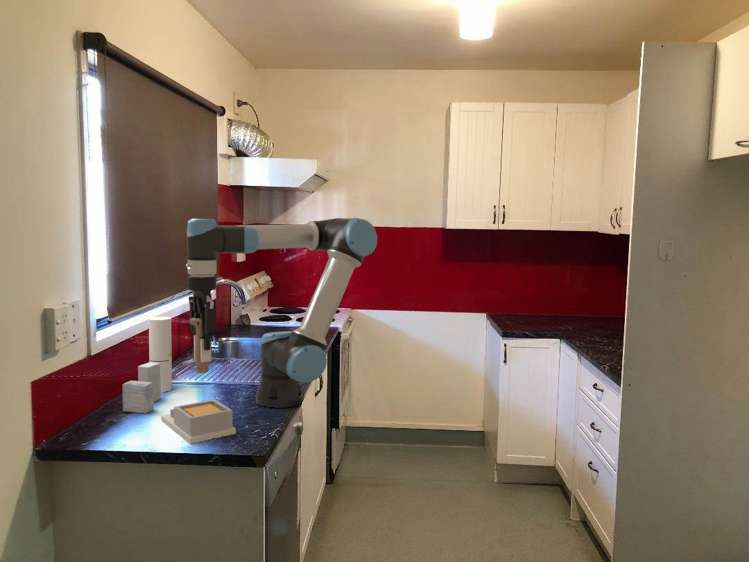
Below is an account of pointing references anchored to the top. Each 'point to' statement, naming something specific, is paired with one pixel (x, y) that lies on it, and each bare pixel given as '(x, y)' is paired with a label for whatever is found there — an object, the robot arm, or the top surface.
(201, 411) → the button
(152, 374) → the skincare box
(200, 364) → the handle
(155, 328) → the cylindrical container
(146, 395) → the medicine box
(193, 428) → the switch panel
